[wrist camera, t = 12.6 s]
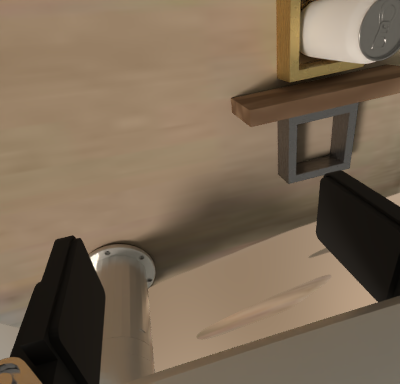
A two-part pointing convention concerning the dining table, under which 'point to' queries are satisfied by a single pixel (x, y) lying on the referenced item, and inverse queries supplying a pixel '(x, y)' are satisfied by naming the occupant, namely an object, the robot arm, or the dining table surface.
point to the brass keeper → (289, 48)
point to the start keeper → (322, 165)
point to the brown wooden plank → (317, 95)
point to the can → (350, 30)
